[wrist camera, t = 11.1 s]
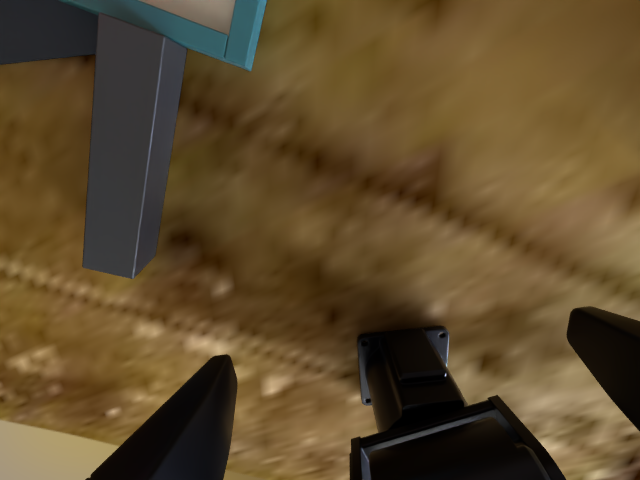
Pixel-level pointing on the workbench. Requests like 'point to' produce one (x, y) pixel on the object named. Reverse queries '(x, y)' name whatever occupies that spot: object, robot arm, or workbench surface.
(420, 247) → the workbench surface
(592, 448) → the workbench surface
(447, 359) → the robot arm
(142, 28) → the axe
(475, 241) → the workbench surface
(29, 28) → the mat
